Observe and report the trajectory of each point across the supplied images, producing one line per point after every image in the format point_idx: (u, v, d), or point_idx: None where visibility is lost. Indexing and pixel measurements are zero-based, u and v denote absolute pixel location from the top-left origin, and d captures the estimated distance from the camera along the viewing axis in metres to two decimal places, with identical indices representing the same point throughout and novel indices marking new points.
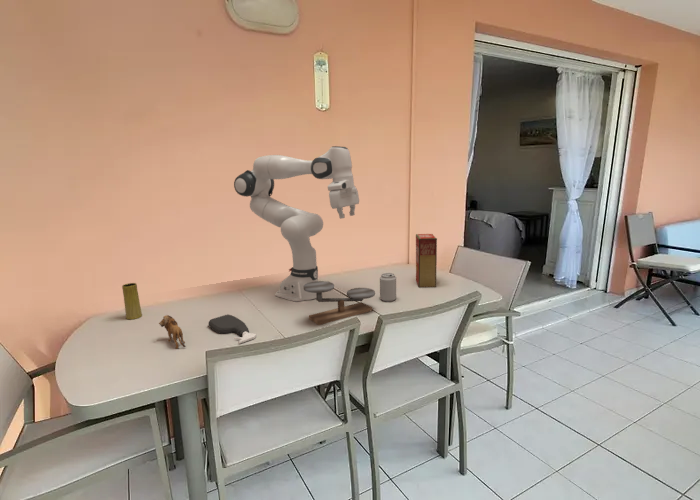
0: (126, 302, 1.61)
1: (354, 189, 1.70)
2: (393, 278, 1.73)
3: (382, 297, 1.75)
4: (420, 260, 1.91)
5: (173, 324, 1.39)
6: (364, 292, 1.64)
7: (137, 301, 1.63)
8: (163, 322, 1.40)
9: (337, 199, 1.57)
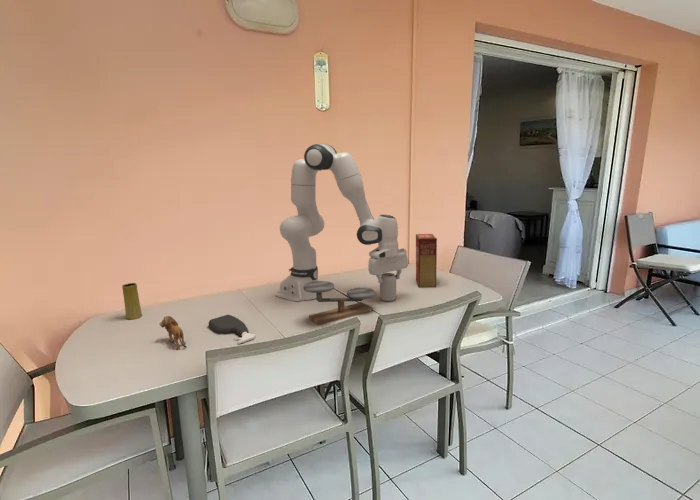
0: (126, 302, 1.61)
1: (401, 255, 1.75)
2: (393, 278, 1.73)
3: (382, 297, 1.75)
4: (420, 260, 1.91)
5: (174, 325, 1.38)
6: (364, 292, 1.64)
7: (137, 301, 1.63)
8: (163, 323, 1.39)
9: (373, 267, 1.68)
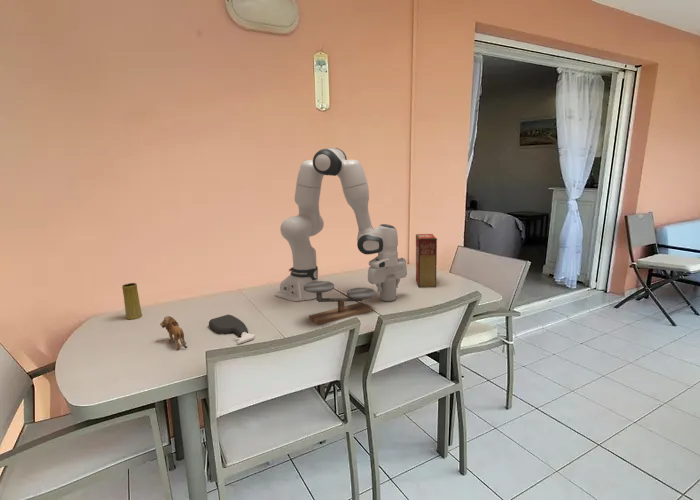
0: (126, 302, 1.61)
1: (401, 264, 1.76)
2: (393, 278, 1.73)
3: (382, 297, 1.75)
4: (420, 260, 1.91)
5: (174, 325, 1.38)
6: (364, 292, 1.64)
7: (137, 301, 1.63)
8: (164, 323, 1.39)
9: (372, 276, 1.69)
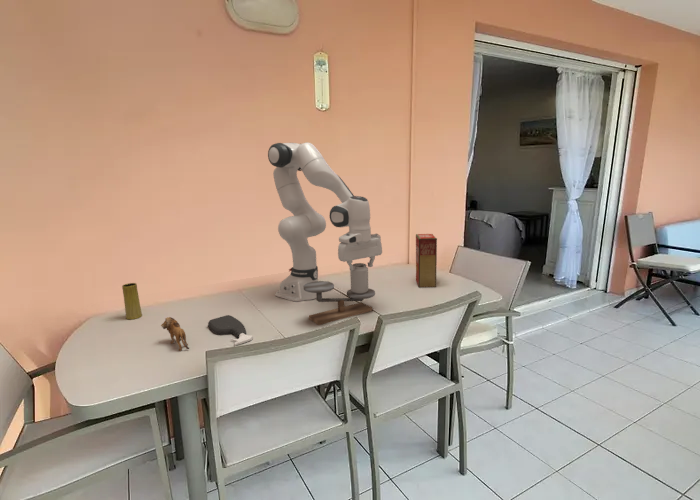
0: (126, 302, 1.61)
1: (375, 240, 1.62)
2: (364, 269, 1.60)
3: (353, 289, 1.62)
4: (420, 260, 1.91)
5: (176, 326, 1.37)
6: None
7: (137, 301, 1.63)
8: (165, 324, 1.38)
9: (342, 253, 1.54)
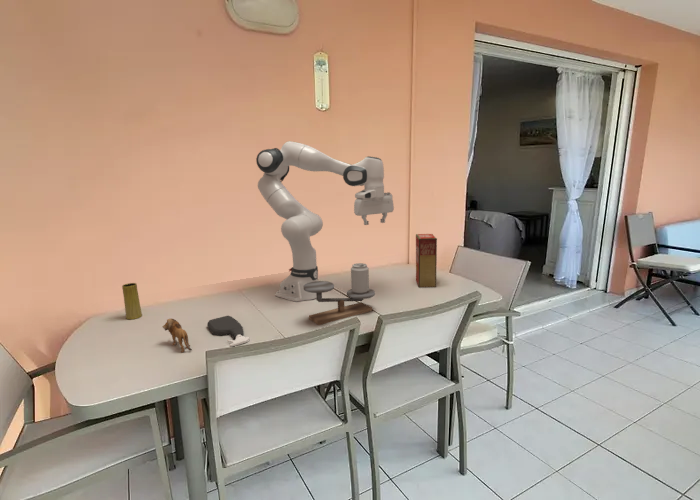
0: (126, 302, 1.61)
1: (387, 198, 1.77)
2: (365, 268, 1.60)
3: (353, 289, 1.62)
4: (420, 260, 1.91)
5: (177, 327, 1.36)
6: None
7: (137, 301, 1.63)
8: (167, 325, 1.37)
9: (358, 207, 1.69)
